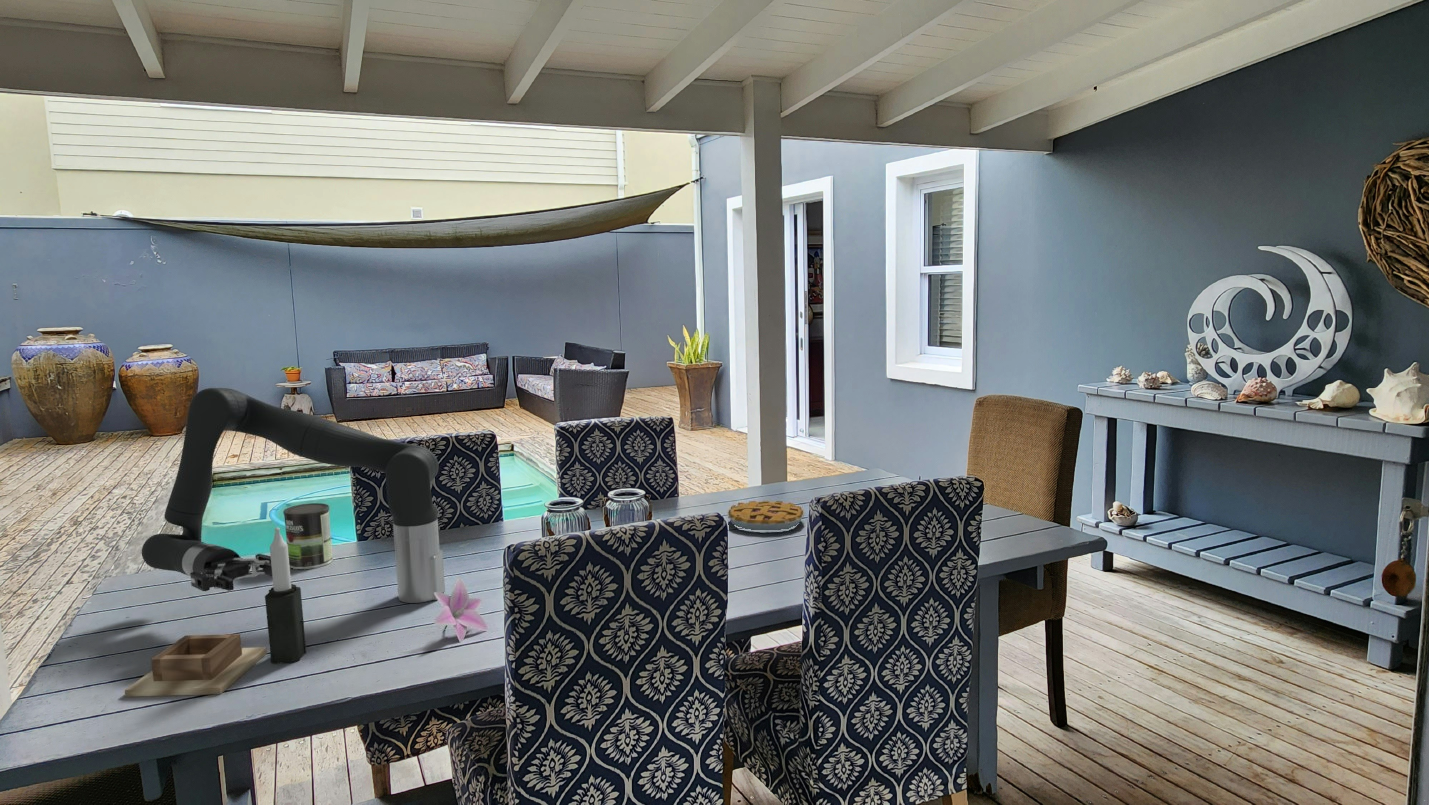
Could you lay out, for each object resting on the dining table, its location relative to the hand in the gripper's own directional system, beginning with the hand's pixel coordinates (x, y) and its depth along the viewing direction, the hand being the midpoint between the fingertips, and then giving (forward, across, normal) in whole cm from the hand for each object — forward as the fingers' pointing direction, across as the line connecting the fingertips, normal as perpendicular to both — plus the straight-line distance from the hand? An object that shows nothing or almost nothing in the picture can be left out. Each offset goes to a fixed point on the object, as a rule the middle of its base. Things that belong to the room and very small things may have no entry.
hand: (254, 578), depth 163 cm
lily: (+29, +24, +14) cm, 40 cm away
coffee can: (-38, +33, +14) cm, 53 cm away
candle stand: (+3, -12, +14) cm, 19 cm away
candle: (+10, 0, +14) cm, 17 cm away
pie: (+42, +121, +14) cm, 129 cm away
